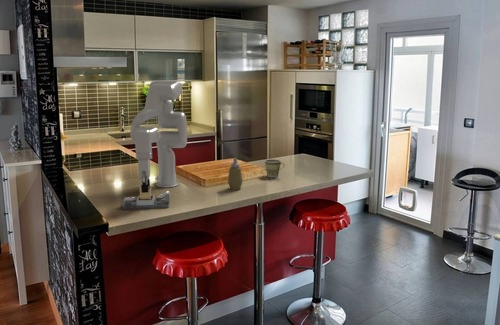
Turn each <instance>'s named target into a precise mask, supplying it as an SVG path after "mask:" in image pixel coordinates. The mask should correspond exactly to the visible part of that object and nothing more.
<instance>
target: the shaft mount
mask: <svg viewBox="0 0 500 325" xmlns="http://www.w3.org/2000/svg"><path fill="white" fill-rule="evenodd" d="M151 197H152V200H140V195H138V196H127V197H126V196H123V197H122V198H123V202H122V205H121V210H122V211H123V210H143V209H144V210H148V209H168V208H169V206H170V203H171V193H170V191H169V190H167V191H165V192H163V193H161V194H158V195H157V196H155V195H154V194H153V195H152V194H151Z"/></svg>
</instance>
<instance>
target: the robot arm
mask: <svg viewBox="0 0 500 325" xmlns="http://www.w3.org/2000/svg"><path fill="white" fill-rule="evenodd" d="M182 92H183V85H182V83H181V82H180V81H178V80H153V81H152V82H150V84H149V87H148V90H147V93H146V99H145V100H146V101H145V105H144V108H143V109H142V110H140V111H139V112H138V113H137V114H136V115H135V116H134V117H133V120H132V121H131V128H130V134H129V135H130V136H129V137H130V139H131V141H132V142H135V143H134V146H135V160H137V162H138V163H137V165H138V166H137V168H138V169H137V170H138V180H139V181H140V180H141V182H140V183H141V185H140V186H141V191H142V193H148V186H151V184H150V180H151V179H150V176H151V160H152V159H153V149H152V148H153V145H152V144H153V143H156V148H157V157H158V160H157V161H158V166H157V167H158V175H157V176H156V177H155V180H156V181H157V182H156V183H155V184H156V186H157V187H159V188H174V187H177V186H178V185H179V181H177V180H176V155H175V152H174V151H173V149H183V148H186V146H187V144H188V129H187V128H188V125H187V124H188V123H187V115H186V113H184V112H183V111H174V103H173V101H175V100H177V99H179V97H180V96H181V94H182ZM156 117H157V123H158V126H159V128H161V129H167V130H161V131H160V129H159V128H157V127H155V126H141V125H142V124H143V123H144V122H146V121H149V120H151V119H153V118H156ZM168 129H175V130H168Z"/></svg>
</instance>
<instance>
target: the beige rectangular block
mask: <svg viewBox="0 0 500 325" xmlns="http://www.w3.org/2000/svg"><path fill="white" fill-rule="evenodd" d="M139 196H140V200H152V197H151V196H152V185H150V186H148V193H142V191H141V185H140V187H139Z"/></svg>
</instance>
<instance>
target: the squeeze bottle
mask: <svg viewBox="0 0 500 325" xmlns="http://www.w3.org/2000/svg"><path fill="white" fill-rule="evenodd" d="M242 175H243V173H242V167H240V163H238V159H237V157H233V162H232V163H231V164H230V168H229V170H228V180H227V184H228V187H229V189H230V190H233V191H234V190H235V191H237V190H240V189H241V188H242V185H243V176H242Z"/></svg>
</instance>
